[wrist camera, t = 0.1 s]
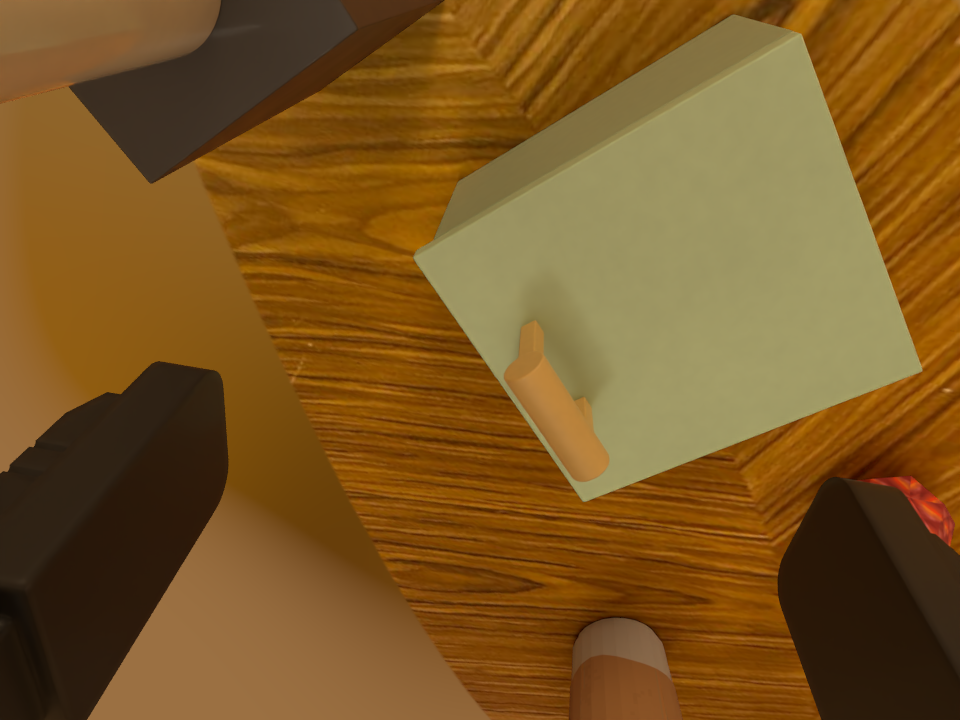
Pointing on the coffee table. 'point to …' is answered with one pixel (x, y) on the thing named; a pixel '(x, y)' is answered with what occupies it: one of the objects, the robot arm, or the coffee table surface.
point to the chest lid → (682, 280)
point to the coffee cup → (621, 674)
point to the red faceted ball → (922, 505)
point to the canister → (93, 39)
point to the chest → (609, 115)
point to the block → (239, 75)
